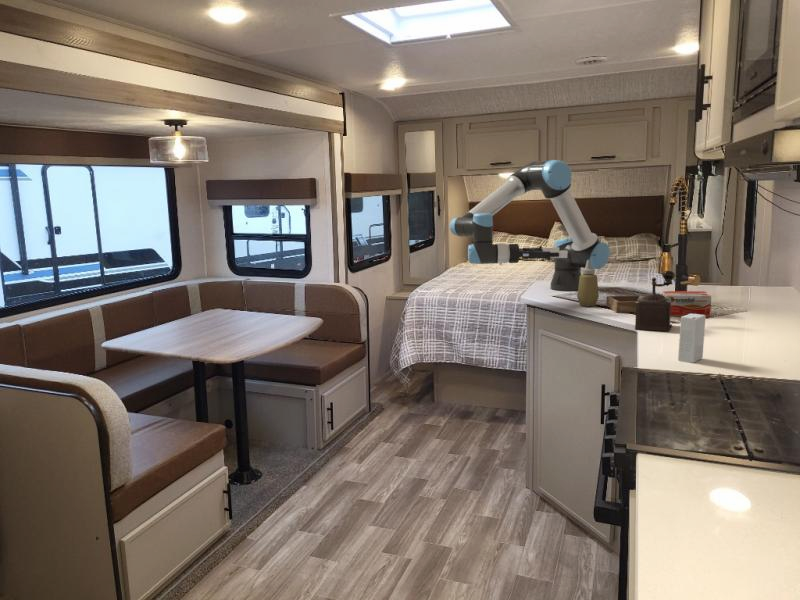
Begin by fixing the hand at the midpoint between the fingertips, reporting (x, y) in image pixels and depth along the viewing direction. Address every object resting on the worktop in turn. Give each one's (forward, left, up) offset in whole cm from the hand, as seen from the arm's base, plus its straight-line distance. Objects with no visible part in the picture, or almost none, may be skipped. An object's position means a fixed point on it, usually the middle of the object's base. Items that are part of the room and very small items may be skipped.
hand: (563, 252), depth 240 cm
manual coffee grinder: (+38, +22, -21) cm, 49 cm away
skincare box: (+79, +16, -21) cm, 83 cm away
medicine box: (+21, +39, -22) cm, 49 cm away
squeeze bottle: (0, +10, -21) cm, 24 cm away
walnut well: (+9, +23, -21) cm, 33 cm away
